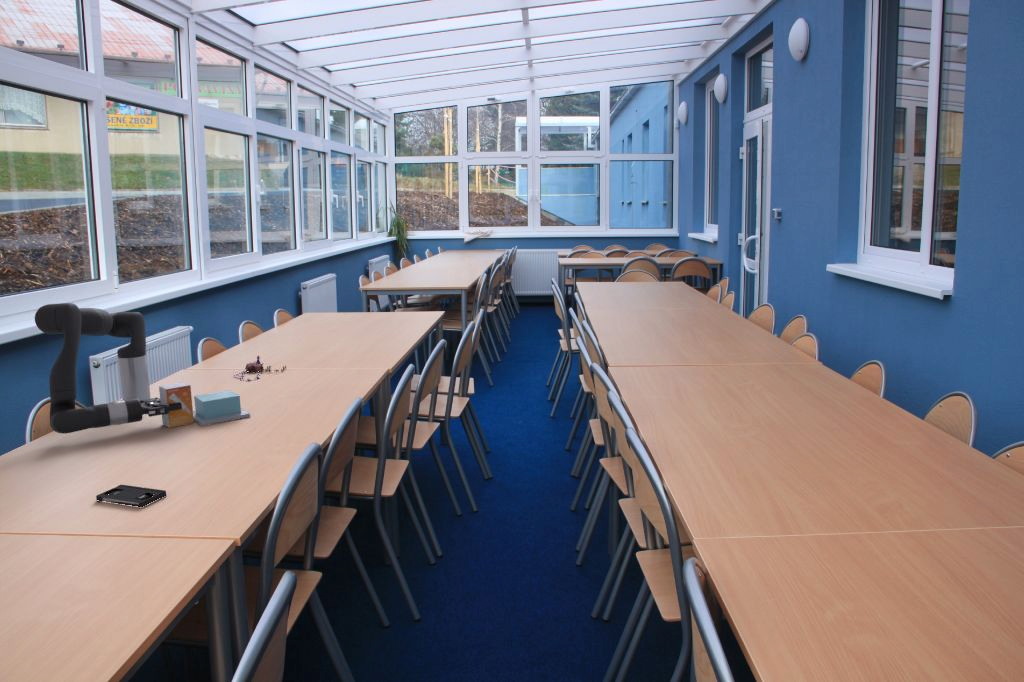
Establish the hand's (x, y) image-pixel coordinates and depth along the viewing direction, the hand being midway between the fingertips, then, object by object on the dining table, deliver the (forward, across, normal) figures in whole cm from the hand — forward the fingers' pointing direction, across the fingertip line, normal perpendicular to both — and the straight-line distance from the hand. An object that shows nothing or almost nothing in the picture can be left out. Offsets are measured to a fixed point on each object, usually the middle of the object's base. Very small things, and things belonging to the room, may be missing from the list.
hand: (177, 402), depth 250 cm
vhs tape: (-27, -61, +8) cm, 67 cm away
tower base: (+12, 0, +7) cm, 14 cm away
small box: (0, 0, +7) cm, 7 cm away
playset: (+45, +54, +8) cm, 71 cm away
